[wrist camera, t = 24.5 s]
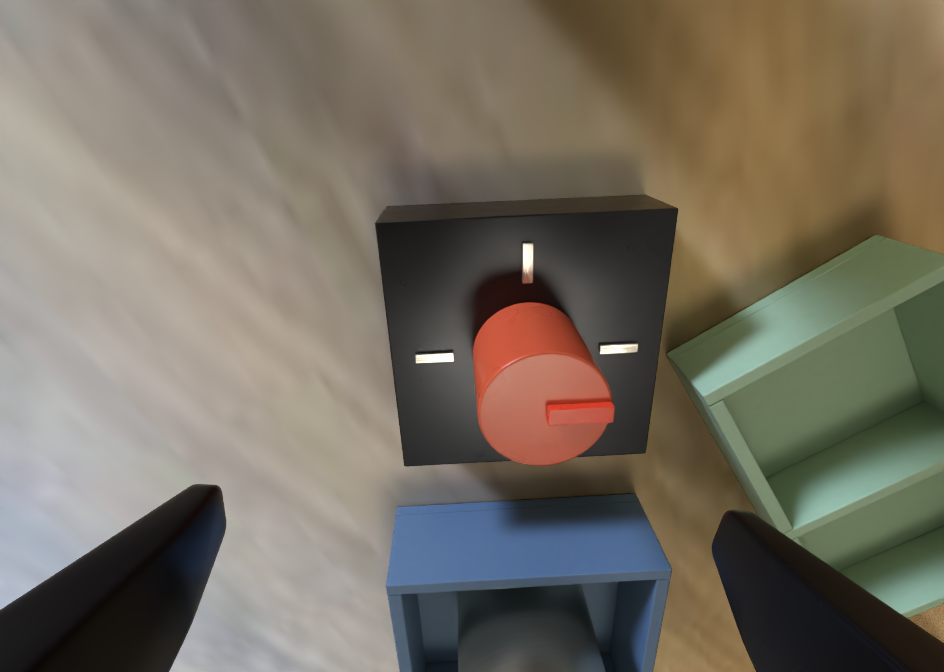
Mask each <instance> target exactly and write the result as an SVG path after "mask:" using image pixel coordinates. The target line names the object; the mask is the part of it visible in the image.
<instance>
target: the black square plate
mask: <svg viewBox="0 0 944 672" xmlns="http://www.w3.org/2000/svg"><path fill="white" fill-rule="evenodd" d="M677 214H678V208H676V207H673V206H671V205H669V204H666V203H664V202H662V201H659V200H657V199H655V198H652V197H650V196H648V195H626V196H604V197H582V198H560V199H538V200H516V201H494V202H472V203H450V204H428V205H406V206H387V207H386V208H385V210H384V211H383V212H382V214H381V215H380V217H379V218H378V220H377V221H376V223H375V225H376V234H377V242H378V250H379V259H380V267H381V275H382V284H383V292H384V300H385V309H386V317H387V326H388V334H389V342H390V351H391V359H392V367H393V376H394V384H395V392H396V401H397V409H398V417H399V426H400V434H401V443H402V451H403V459H404V466H422V465H440V464H458V463H477V462H495V461H513V460H510V459H508V458H506V457H504V456H503V455H501V454H500V453H498V452H497V451H496V450H495V449H494V448H493V447H492V446H491V445H490V444H489V443H488V442H487V440H486V439H485V437H484V436H483V433H482V431H481V429H480V426H479V422H478V413H477V401H476V389H475V377H474V365H473V346H474V342H475V339H476V336H477V334H478V332H479V330H480V329H481V327H482V326H483V325H484V323H485V322H486V321H487V320H488V319H489V318H490V317H491V316H493V315H494V314H495V313H497V312H498V311H500V310H502V309H504V308H506V307H508V306H511V305H514V304H519V303H526V302H535V303H542V304H546V305H550V306H552V307H554V308H556V309H558V310H560V311H561V312H563V313H564V314H565V315H567V316H568V317H569V319H570V320H571V321H572V322H573V323H574V325H575V326H576V328H577V330H578V332H579V333H580V335H581V337H582V339H583V340H584V342H585V344H586V346H587V347H588V349H589V351H590V352H591V354H592V356H593V358H594V359H595V361H596V363H597V365H598V366H599V368H600V370H601V372H602V373H603V375H604V377H605V378H606V381H607V383H608V385H609V387H610V391H611V396H612V403H613V405H614V406H615V410H614V420H613V423H608V424H607V426H606V428H605V430H604V432H603V433H602V435H601V436H600V438H599V439H598V440H597V441H596V442H595V443H594V444H593V445H592V446H591V447H590V448H589V449H587V450H586V451H585V452H583V453H582V454H580V455H578V456H576V457H587V456H605V455H624V454H642V453H646V446H647V439H648V431H649V424H650V416H651V409H652V401H653V394H654V386H655V379H656V371H657V364H658V356H659V349H660V341H661V334H662V326H663V319H664V311H665V304H666V297H667V289H668V282H669V274H670V267H671V259H672V252H673V244H674V237H675V229H676V222H677Z"/></svg>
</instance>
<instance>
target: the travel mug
mask: <svg viewBox="0 0 944 672" xmlns="http://www.w3.org/2000/svg"><path fill="white" fill-rule="evenodd" d="M458 672H605V668H604V664H603V661H602V657H601V653H600V650H599V646H598V643H597V639H596V635H595V632H594V628H593V624H592V621H591V617H590V613H589V610H588V606H587V602H586V599H585V595H584V591H583V588H582V584H570V585H553V586H536V587H519V588H502V589H485V590H468V591H458Z"/></svg>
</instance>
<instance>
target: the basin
mask: <svg viewBox="0 0 944 672" xmlns="http://www.w3.org/2000/svg"><path fill="white" fill-rule="evenodd" d="M671 572H672V568H671V566H670V564H669V562H668V560H667V558H666V556H665V554H664V552H663V550H662V547H661V545H660V543H659V541H658V539H657V537H656V535H655V533H654V531H653V529H652V527H651V525H650V523H649V520H648V518H647V516H646V514H645V512H644V510H643V508H642V506H641V504H640V502H639V500H638V498H637V496H636V494H620V495H602V496H584V497H567V498H549V499H531V500H513V501H495V502H477V503H459V504H441V505H423V506H405V507H397V512H396V519H395V526H394V533H393V540H392V547H391V554H390V561H389V569H388V576H387V583H386V588H387V594H388V600H389V607H390V613H391V619H392V625H393V632H394V638H395V644H396V651H397V657H398V663H399V669H400V672H458V591H468V590H485V589H502V588H519V587H536V586H553V585H570V584H582V588H583V591H584V595H585V599H586V602H587V606H588V610H589V613H590V617H591V621H592V624H593V628H594V632H595V635H596V639H597V643H598V646H599V650H600V653H601V657H602V661H603V664H604V668H605V672H653V669H654V664H655V658H656V653H657V647H658V642H659V636H660V631H661V626H662V620H663V615H664V609H665V604H666V598H667V593H668V587H669V582H670V577H671Z"/></svg>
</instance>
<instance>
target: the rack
mask: <svg viewBox="0 0 944 672" xmlns="http://www.w3.org/2000/svg"><path fill="white" fill-rule="evenodd" d="M666 356H667V357H668V359H669V361H670V363H671V364H672V366H673V368H674V370H675V371H676V373H677V375H678V377H679V378H680V380H681V382H682V384H683V385H684V387H685V389H686V390H687V392H688V394H689V396H690V397H691V399H692V401H693V403H694V404H695V406H696V408H697V410H698V411H699V413H700V415H701V417H702V418H703V420H704V422H705V424H706V425H707V427H708V429H709V431H710V432H711V434H712V436H713V438H714V439H715V441H716V443H717V445H718V446H719V448H720V450H721V452H722V453H723V455H724V457H725V458H726V460H727V462H728V464H729V465H730V467H731V469H732V471H733V472H734V474H735V476H736V478H737V479H738V481H739V483H740V485H741V486H742V488H743V490H744V492H745V493H746V495H747V497H748V499H749V500H750V502H751V504H752V506H753V507H754V509H755V511H756V513H757V514H758V516H759V517H760V518H761V519H762V520H764V521H765V522H767V523H768V524H770V525H771V526H773V527H774V528H776V529H777V530H779V531H780V532H781V533H783V534H784V535H786V536H787V537H789V538H790V539H792V540H793V541H795V542H796V543H798V544H799V545H801V546H802V547H803V548H805V549H806V550H808V551H809V552H811V553H812V554H814V555H815V556H817V557H818V558H820V559H821V560H823V561H824V562H825V563H827V564H828V565H830V566H831V567H833V568H834V569H836V570H837V571H839V572H840V573H842V574H843V575H844V576H846V577H847V578H849V579H850V580H852V581H853V582H855V583H856V584H858V585H859V586H861V587H862V588H864V589H865V590H866V591H868V592H869V593H871V594H872V595H874V596H875V597H877V598H878V599H880V600H881V601H883V602H884V603H886V604H887V605H888V606H890V607H891V608H893V609H894V610H896V611H897V612H899V613H900V614H902V615H903V616H905V617H906V618H909V617H912V616H914V615H917V614H919V613H922V612H924V611H927V610H929V609H932V608H934V607H937V606H939V605H942V604H944V254H941V253H938V252H934V251H931V250H928V249H924V248H921V247H917V246H914V245H910V244H907V243H903V242H900V241H896V240H893V239H889V238H886V237H882V236H879V235H874V236H872V237H871V238H869V239H867V240H865V241H864V242H862V243H860V244H858V245H857V246H855V247H853V248H851V249H850V250H848V251H846V252H844V253H843V254H841V255H839V256H837V257H835V258H834V259H832V260H830V261H828V262H827V263H825V264H823V265H821V266H820V267H818V268H816V269H814V270H813V271H811V272H809V273H807V274H806V275H804V276H802V277H800V278H799V279H797V280H795V281H793V282H792V283H790V284H788V285H786V286H785V287H783V288H781V289H779V290H777V291H776V292H774V293H772V294H770V295H769V296H767V297H765V298H763V299H762V300H760V301H758V302H756V303H755V304H753V305H751V306H749V307H748V308H746V309H744V310H742V311H741V312H739V313H737V314H735V315H734V316H732V317H730V318H728V319H727V320H725V321H723V322H721V323H720V324H718V325H716V326H714V327H712V328H711V329H709V330H707V331H705V332H704V333H702V334H700V335H698V336H697V337H695V338H693V339H691V340H690V341H688V342H686V343H684V344H683V345H681V346H679V347H677V348H676V349H674V350H672V351H670V352H669V353H667V354H666Z"/></svg>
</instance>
